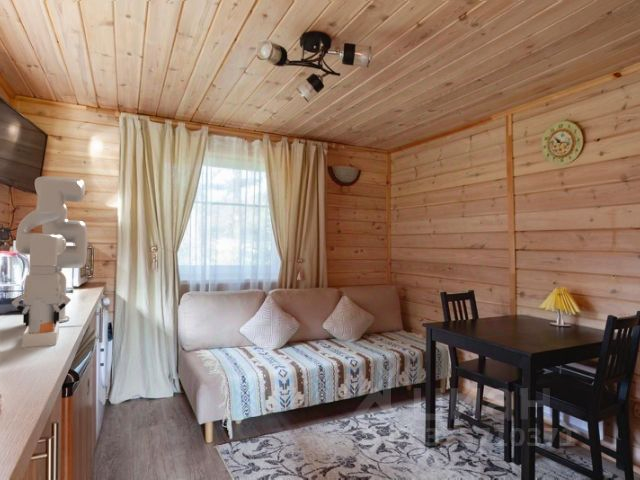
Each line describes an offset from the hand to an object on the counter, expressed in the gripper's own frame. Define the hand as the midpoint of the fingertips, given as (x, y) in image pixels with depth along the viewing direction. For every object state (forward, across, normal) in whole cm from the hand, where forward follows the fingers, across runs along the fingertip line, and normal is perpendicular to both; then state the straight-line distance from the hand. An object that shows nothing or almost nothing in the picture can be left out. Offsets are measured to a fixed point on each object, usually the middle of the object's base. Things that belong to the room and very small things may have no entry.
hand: (41, 323), depth 131 cm
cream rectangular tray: (+6, 0, -4) cm, 8 cm away
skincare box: (+3, 0, 0) cm, 3 cm away
